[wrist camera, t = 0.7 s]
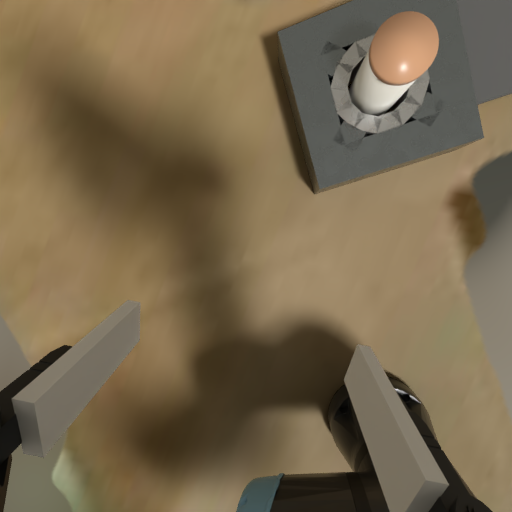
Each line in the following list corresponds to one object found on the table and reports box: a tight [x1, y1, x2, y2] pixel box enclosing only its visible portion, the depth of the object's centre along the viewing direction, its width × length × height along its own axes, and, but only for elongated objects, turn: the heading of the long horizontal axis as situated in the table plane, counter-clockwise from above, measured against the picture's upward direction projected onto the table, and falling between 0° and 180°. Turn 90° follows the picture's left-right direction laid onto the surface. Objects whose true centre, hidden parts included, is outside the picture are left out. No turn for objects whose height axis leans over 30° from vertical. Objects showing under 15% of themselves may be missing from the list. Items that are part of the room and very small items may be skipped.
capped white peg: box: [349, 11, 439, 116], centre depth 29 cm, size 6×6×11 cm
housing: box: [278, 0, 484, 194], centre depth 32 cm, size 20×20×5 cm
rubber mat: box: [456, 0, 512, 105], centre depth 31 cm, size 14×10×1 cm
